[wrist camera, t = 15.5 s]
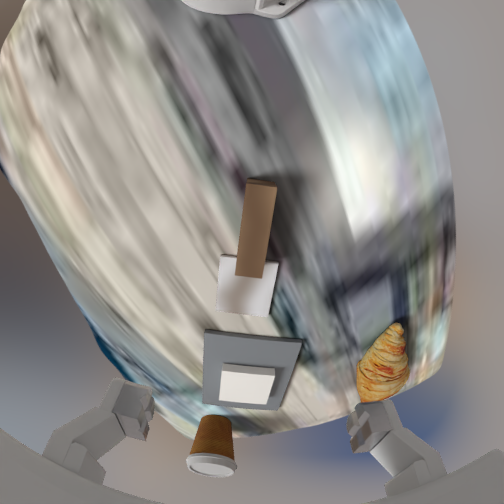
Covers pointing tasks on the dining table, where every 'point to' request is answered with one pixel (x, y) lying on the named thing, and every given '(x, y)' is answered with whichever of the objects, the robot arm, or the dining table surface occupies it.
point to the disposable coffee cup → (213, 448)
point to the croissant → (383, 366)
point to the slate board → (247, 363)
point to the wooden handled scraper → (250, 257)
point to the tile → (246, 383)
